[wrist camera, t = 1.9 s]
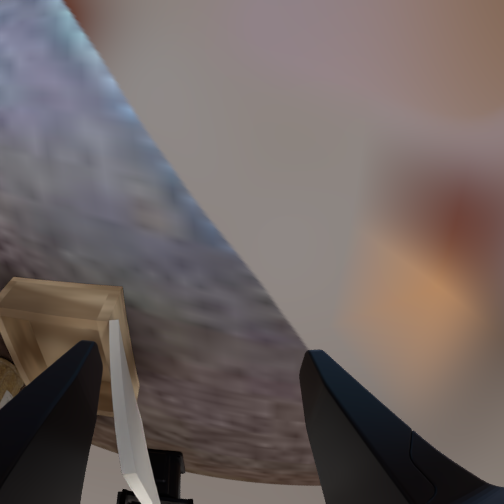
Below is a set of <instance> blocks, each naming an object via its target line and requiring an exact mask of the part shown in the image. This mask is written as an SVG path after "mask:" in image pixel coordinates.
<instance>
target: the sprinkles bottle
mask: <svg viewBox="0 0 504 504" xmlns="http://www.w3.org/2000/svg"><path fill="white" fill-rule="evenodd" d="M23 384H24V381H23V379H22V378H21V376H20V374H19V372H18V370H17V368H16V366H15V365H13V364H12V363H11V362H9V361H8V360H6V359H3V358H0V409H1V408H2V407H3V406H4V405H5V404H7V403H8V402H9V401H10V400H11V399H12V398H13V397H14V396H16V395H17V394H18V393H19V390H20V388H21V387H22V386H23Z"/></svg>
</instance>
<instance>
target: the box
mask: <svg viewBox="0 0 504 504" xmlns="http://www.w3.org/2000/svg"><path fill="white" fill-rule="evenodd" d="M109 320H119V325H120V331H121V336H122V341H123V346H124V351H125V356H126V360H127V365H128V369H129V373H130V378H131V382H132V386H133V390H134V394H135V398H136V401H137V397H138V391H139V386H140V385H139V380H138V376H137V371H136V366H135V361H134V356H133V351H132V346H131V340H130V334H129V328H128V322H127V316H126V309H125V302H124V294H123V287H120V286H106V285H94V284H82V283H70V282H59V281H49V280H39V279H29V278H20V277H13V278H12V279H11V280H10V281H9V283H8V284H7V285H6V286H5V287H4V288H3V289H2V291H1V292H0V333H1V335H2V338H3V340H4V342H5V344H6V347H7V349H8V351H9V353H10V355H11V357H12V360H13V362H14V364H15V366H16V368H17V370H18V372H19V374H20V376H21V378H22V379H23V381H24V383H25V385H26V386H27V385H28V384H29V383H30V382H32V381H33V380H34V379H35V378H36V377H37V376H39V375H40V374H41V373H42V372H43V371H44V370H46V369H47V368H48V367H49V366H50V365H52V364H53V363H54V362H55V361H56V360H57V359H59V358H60V357H61V356H62V355H63V354H65V353H66V352H67V351H68V350H69V349H71V348H72V347H73V346H74V345H75V344H77V343H78V342H79V341H81V340H89V341H94V342H96V343H97V345H98V349H99V352H100V356H101V359H102V363H103V374H102V380H101V387H100V395H99V402H98V410H97V415H103V416H109V417H114V412H113V401H112V388H111V371H110V345H109Z"/></svg>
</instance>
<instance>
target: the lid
mask: <svg viewBox="0 0 504 504" xmlns="http://www.w3.org/2000/svg"><path fill="white" fill-rule="evenodd" d="M109 345H110V371H111V388H112V401H113V412H114V421H115V430H116V438H117V446H118V453H119V459H120V465H121V471H122V475H123V476H124V478H125V480H126V481H127V483H128V485H129V486H130V487H131V489H132V491H133V492H134V494H135V495H136V497H137V498H138V500H139V501H140V503H141V504H161V503H160V499H159V496H158V492H157V488H156V484H155V480H154V476H153V472H152V468H151V464H150V459H149V455H148V450H147V445H146V440H145V435H144V430H143V425H142V419H141V416H140V412H139V409H138V405H137V401H136V398H135V394H134V390H133V386H132V382H131V378H130V373H129V369H128V365H127V360H126V356H125V351H124V346H123V341H122V336H121V331H120V325H119V320H109Z"/></svg>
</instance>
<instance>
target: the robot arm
mask: <svg viewBox="0 0 504 504" xmlns="http://www.w3.org/2000/svg"><path fill="white" fill-rule="evenodd" d="M102 374H103V363H102V359H101V356H100V352H99V349H98V345H97V343H96V342H94V341H89V340H81V341H79V342H78V343H77V344H75V345H74V346H73V347H72V348H71V349H69V350H68V351H67V352H66V353H65V354H63V355H62V356H61V357H60V358H59V359H57V360H56V361H55V362H54V363H53V364H52V365H50V366H49V367H48V368H47V369H46V370H44V371H43V372H42V373H41V374H40V375H39V376H37V377H36V378H35V379H34V380H33V381H32V382H30V383H29V384H28V385H27V386H26V387H25V388H24V389H22V390H21V391H20V392H19V393H18V394H17V395H16V396H14V397H13V398H12V399H11V400H10V401H9V402H8V403H7V404H5V405H4V406H3V407H2V408H1V409H0V504H80V501H81V494H82V488H83V482H84V477H85V471H86V465H87V461H88V456H89V450H90V446H91V442H92V437H93V433H94V428H95V423H96V418H97V410H98V402H99V395H100V387H101V380H102ZM299 379H300V386H301V394H302V401H303V408H304V416H305V423H306V429H307V433H308V437H309V441H310V445H311V448H312V452H313V456H314V460H315V464H316V467H317V471H318V475H319V479H320V483H321V487H322V490H323V494H324V497H325V502H326V504H504V487H499V486H495V485H492V484H489V483H487V482H485V481H483V480H481V479H480V478H478V477H477V476H475V475H473V474H472V473H470V472H469V471H467V470H465V469H464V468H463V467H461V466H459V465H458V464H457V463H455V462H454V461H452V460H451V459H449V458H448V457H446V456H445V455H444V454H442V453H441V452H439V451H438V450H436V449H435V448H434V447H433V446H431V445H430V444H429V443H428V442H427V441H425V440H424V439H423V438H422V437H421V436H419V435H418V434H417V433H416V432H415V431H412V430H411V428H410V427H409V426H408V425H407V424H405V423H404V422H403V421H402V420H401V419H400V418H398V417H397V416H396V415H395V414H394V413H393V412H392V411H390V410H389V409H388V408H387V407H386V406H385V405H384V404H382V403H381V402H380V401H379V400H378V399H377V398H376V397H375V396H373V395H372V394H371V393H370V392H369V391H368V390H367V389H365V388H364V387H363V386H362V385H361V384H360V383H359V382H357V381H356V380H355V379H354V378H353V377H352V376H351V375H350V374H349V373H347V372H346V371H345V370H344V369H343V368H342V367H341V366H340V365H339V364H337V363H336V362H335V361H334V360H333V359H332V358H331V357H330V356H329V355H328V354H326V353H325V352H324V351H323V350H308V351H306V353H305V356H304V359H303V362H302V366H301V369H300V374H299ZM148 455H149V459H150V464H151V468H152V472H153V476H154V480H155V484H156V488H157V492H158V496H159V499H160V503H161V504H193V499H180V479H181V478H180V477H181V474H183V473H185V466H184V460H183V454H182V453H180V452H168V451H156V450H148ZM117 504H141V503H140V501H139V500H138V498H137V497H136V495H135V494H134V492H133V491H128V490H126V489H123V490H122V492H118V497H117Z"/></svg>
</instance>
